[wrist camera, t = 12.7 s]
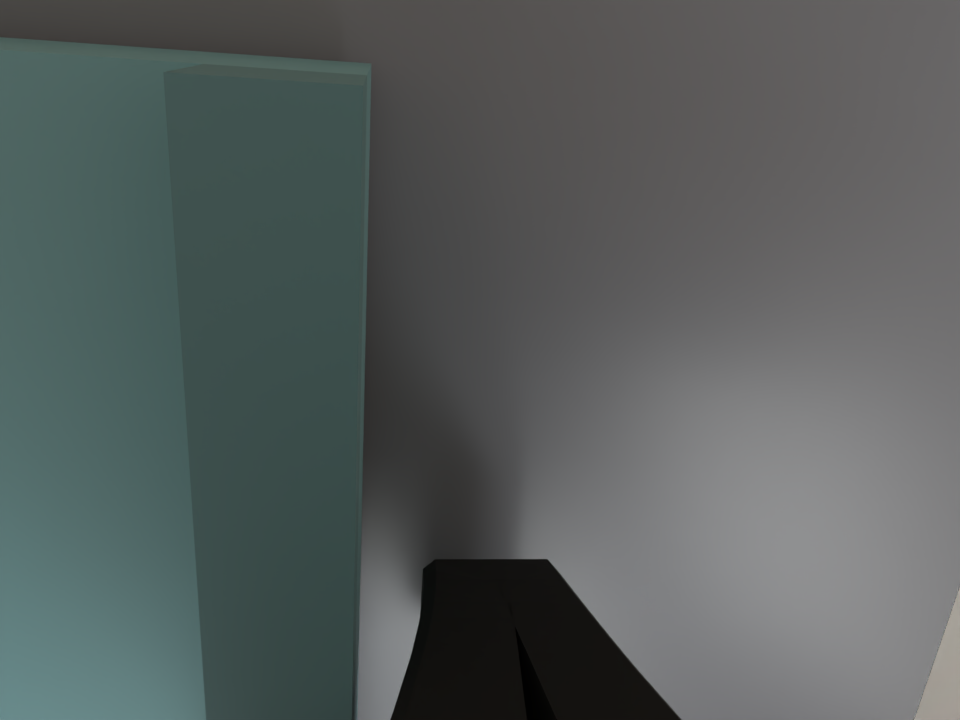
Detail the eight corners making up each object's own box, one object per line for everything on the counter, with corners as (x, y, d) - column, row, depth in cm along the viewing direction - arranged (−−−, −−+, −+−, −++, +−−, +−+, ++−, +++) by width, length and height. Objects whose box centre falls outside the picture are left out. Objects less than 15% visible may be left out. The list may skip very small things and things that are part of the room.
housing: (762, 816, 15) (831, 961, 13) (-348, 865, 13) (-511, 1053, 10) (994, -36, 10) (1180, -56, 8) (-800, -206, 8) (-1321, -309, 5)
